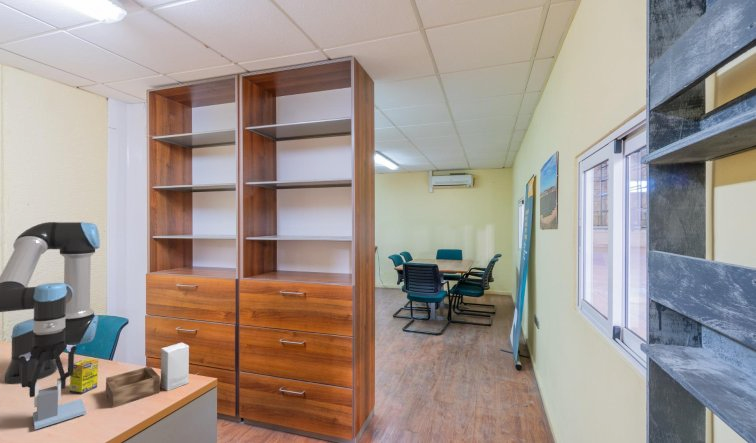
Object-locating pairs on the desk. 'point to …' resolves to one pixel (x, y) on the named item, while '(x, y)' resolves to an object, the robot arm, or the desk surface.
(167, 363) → the skincare box
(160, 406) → the desk surface
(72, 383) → the supplement box
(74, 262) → the robot arm
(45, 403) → the lid
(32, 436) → the desk surface
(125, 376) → the box
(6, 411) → the desk surface
